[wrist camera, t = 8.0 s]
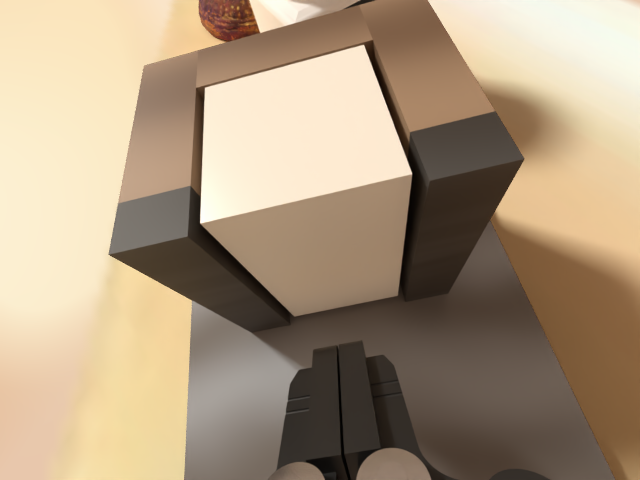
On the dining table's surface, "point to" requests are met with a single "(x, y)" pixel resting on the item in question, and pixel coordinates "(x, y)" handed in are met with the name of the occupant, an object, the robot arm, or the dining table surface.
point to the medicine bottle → (295, 10)
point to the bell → (228, 18)
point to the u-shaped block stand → (369, 317)
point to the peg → (308, 181)
